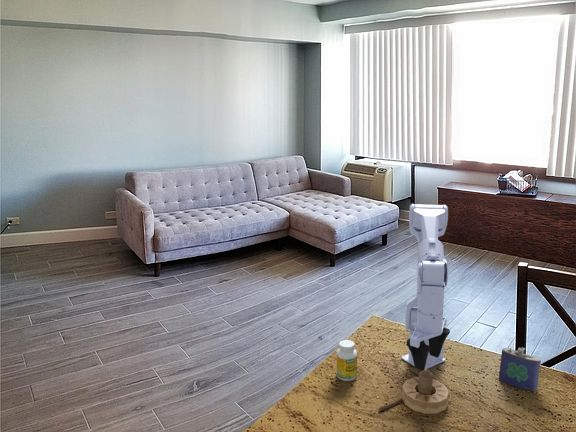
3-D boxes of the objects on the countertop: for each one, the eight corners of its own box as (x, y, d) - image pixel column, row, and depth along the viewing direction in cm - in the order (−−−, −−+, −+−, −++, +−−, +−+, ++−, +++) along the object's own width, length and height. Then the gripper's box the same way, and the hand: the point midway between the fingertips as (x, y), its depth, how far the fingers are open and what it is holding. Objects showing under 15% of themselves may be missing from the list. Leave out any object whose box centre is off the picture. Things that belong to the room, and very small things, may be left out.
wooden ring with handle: (423, 382, 129) (423, 372, 129) (456, 403, 121) (457, 392, 120) (372, 406, 120) (372, 395, 119) (404, 430, 112) (404, 419, 111)
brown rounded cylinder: (420, 394, 125) (422, 365, 123) (433, 398, 123) (435, 369, 121) (415, 400, 122) (417, 371, 120) (428, 405, 120) (430, 375, 118)
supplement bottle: (347, 368, 137) (348, 336, 134) (361, 377, 132) (361, 344, 130) (332, 374, 134) (332, 342, 131) (345, 384, 130) (345, 350, 127)
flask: (538, 389, 126) (542, 351, 123) (535, 395, 124) (539, 356, 121) (500, 377, 132) (503, 340, 129) (496, 382, 129) (500, 344, 127)
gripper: (428, 295, 124) (425, 345, 128) (399, 315, 114) (396, 369, 117) (456, 303, 120) (452, 354, 123) (427, 325, 109) (424, 380, 113)
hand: (427, 362), depth 120 cm, fingers open, 7 cm apart
